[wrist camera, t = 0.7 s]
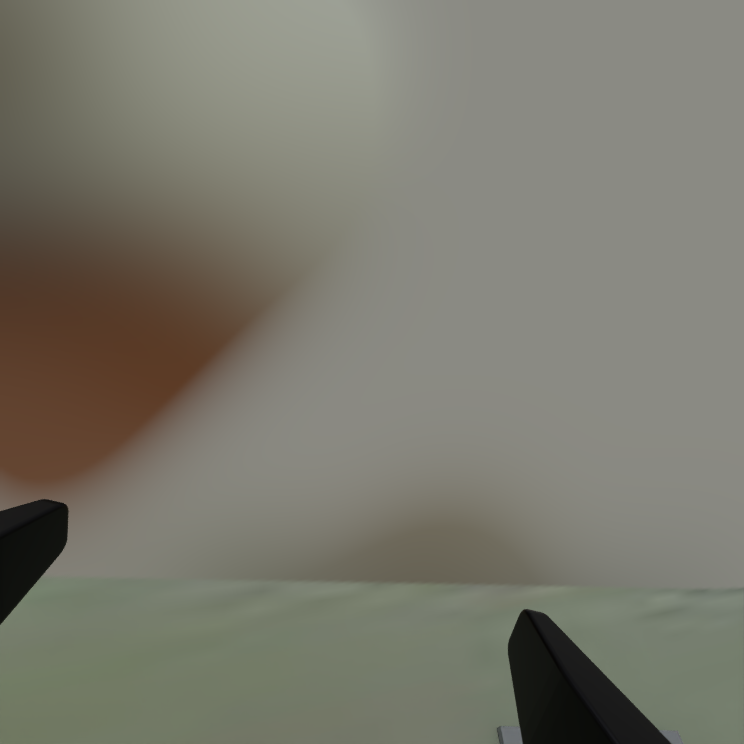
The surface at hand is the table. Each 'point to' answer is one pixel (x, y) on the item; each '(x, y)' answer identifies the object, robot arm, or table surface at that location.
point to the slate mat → (513, 740)
